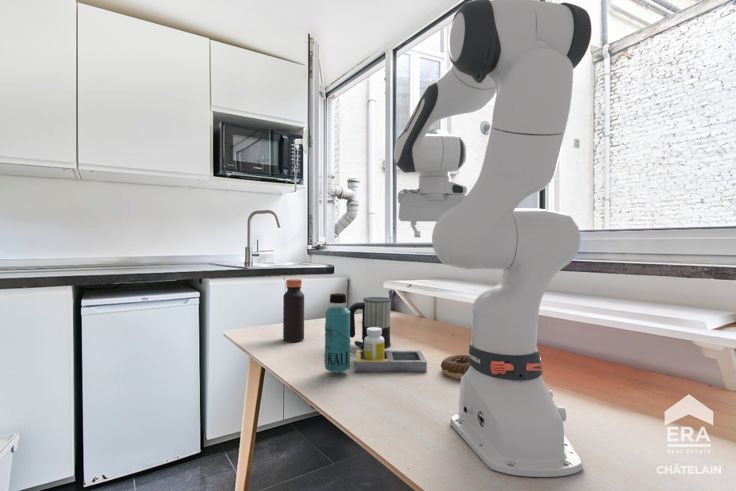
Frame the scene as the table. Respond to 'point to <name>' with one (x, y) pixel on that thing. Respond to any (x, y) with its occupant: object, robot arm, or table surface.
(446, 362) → the donut
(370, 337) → the supplement bottle
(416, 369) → the grey compartment tray
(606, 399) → the table surface
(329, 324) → the beverage bottle
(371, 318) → the milk frother
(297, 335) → the vinegar
